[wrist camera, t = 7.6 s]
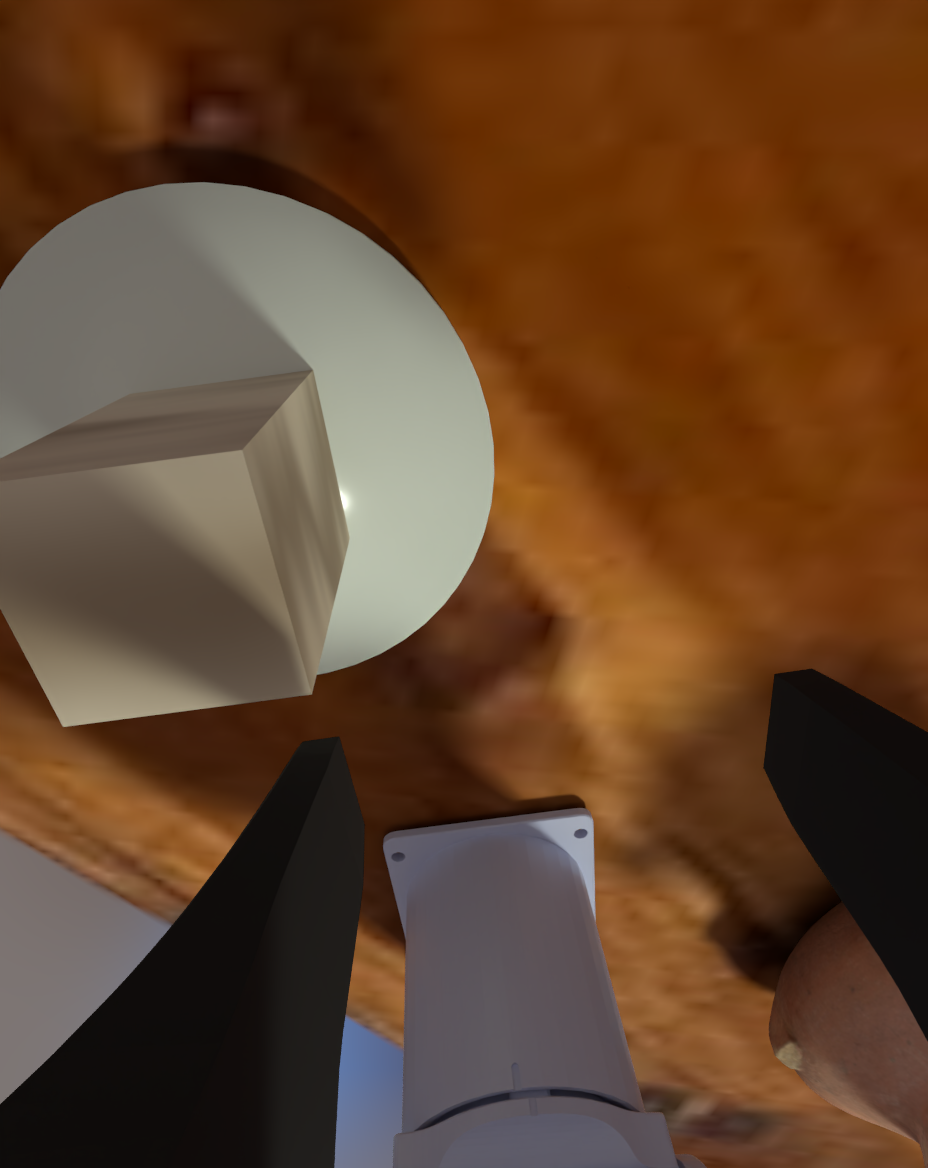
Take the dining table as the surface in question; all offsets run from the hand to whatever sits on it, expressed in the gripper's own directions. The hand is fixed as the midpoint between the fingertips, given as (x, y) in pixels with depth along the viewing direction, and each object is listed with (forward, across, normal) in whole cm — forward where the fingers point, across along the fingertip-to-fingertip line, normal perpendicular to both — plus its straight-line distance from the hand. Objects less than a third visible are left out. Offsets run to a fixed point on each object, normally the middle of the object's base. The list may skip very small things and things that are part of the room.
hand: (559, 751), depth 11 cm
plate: (+9, +6, -3) cm, 12 cm away
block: (+8, +6, -3) cm, 11 cm away
